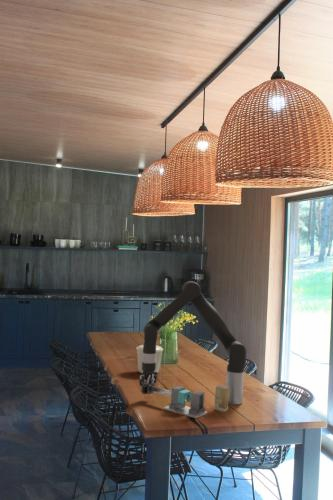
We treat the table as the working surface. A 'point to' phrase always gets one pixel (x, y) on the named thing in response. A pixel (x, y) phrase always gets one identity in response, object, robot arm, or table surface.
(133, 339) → the table surface
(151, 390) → the shaft
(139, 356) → the canister
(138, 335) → the table surface
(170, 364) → the table surface
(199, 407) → the bearing stand
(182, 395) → the spacer
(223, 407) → the skincare box
